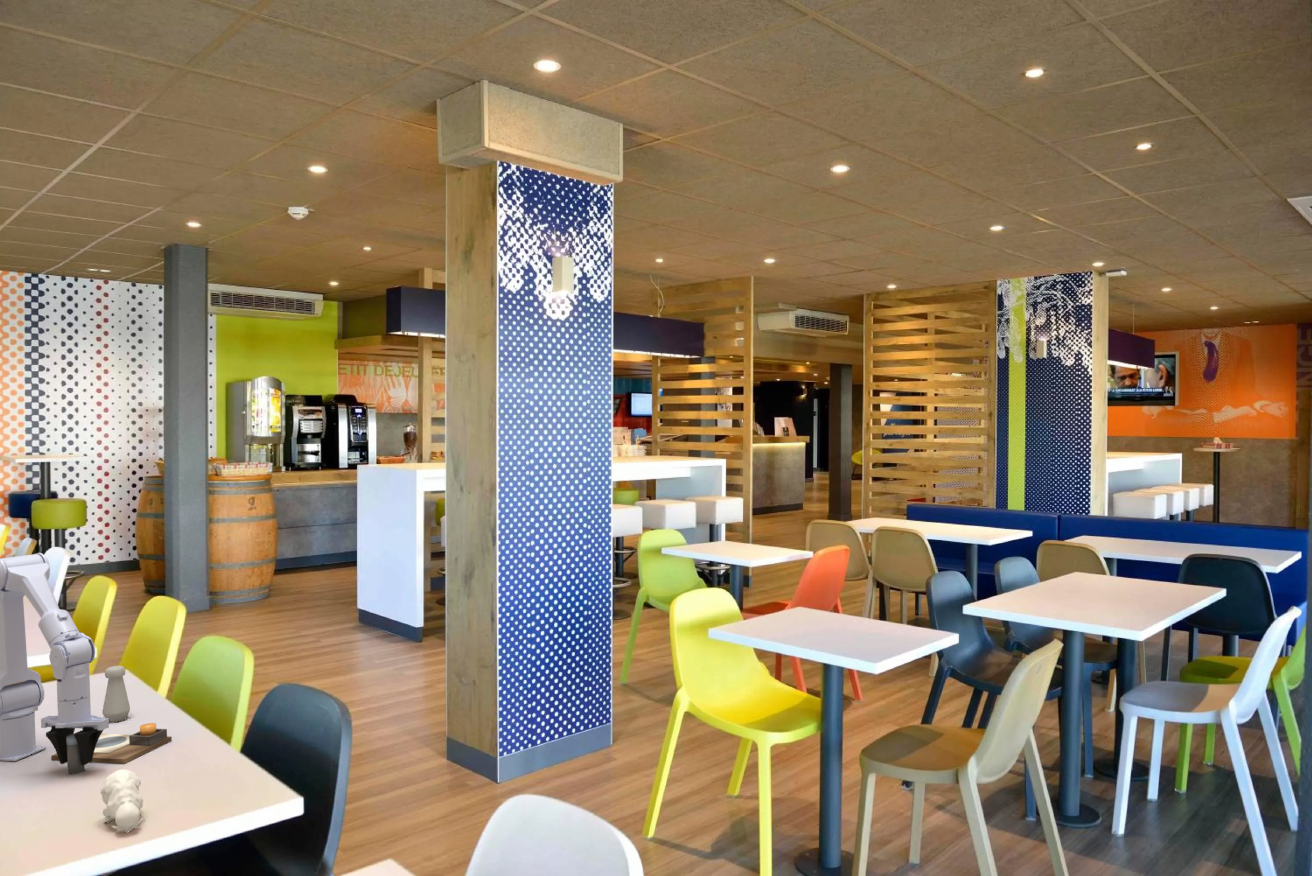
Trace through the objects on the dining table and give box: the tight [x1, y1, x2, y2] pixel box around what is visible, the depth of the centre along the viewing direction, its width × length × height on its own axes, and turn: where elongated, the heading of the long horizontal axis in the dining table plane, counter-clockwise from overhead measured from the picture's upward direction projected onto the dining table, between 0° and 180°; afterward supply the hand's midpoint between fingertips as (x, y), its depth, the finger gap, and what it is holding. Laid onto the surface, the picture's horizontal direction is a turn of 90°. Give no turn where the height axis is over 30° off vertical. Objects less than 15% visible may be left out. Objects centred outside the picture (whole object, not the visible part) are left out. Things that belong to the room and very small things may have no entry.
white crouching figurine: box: [100, 769, 144, 833], centre depth 161 cm, size 6×8×12 cm
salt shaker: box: [101, 665, 131, 724], centre depth 221 cm, size 6×6×13 cm
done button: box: [139, 722, 157, 736], centre depth 202 cm, size 3×3×2 cm
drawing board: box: [50, 728, 173, 765], centre depth 200 cm, size 18×14×3 cm
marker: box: [66, 734, 86, 775], centre depth 188 cm, size 3×3×8 cm
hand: (76, 762), depth 188 cm, fingers open, 4 cm apart
